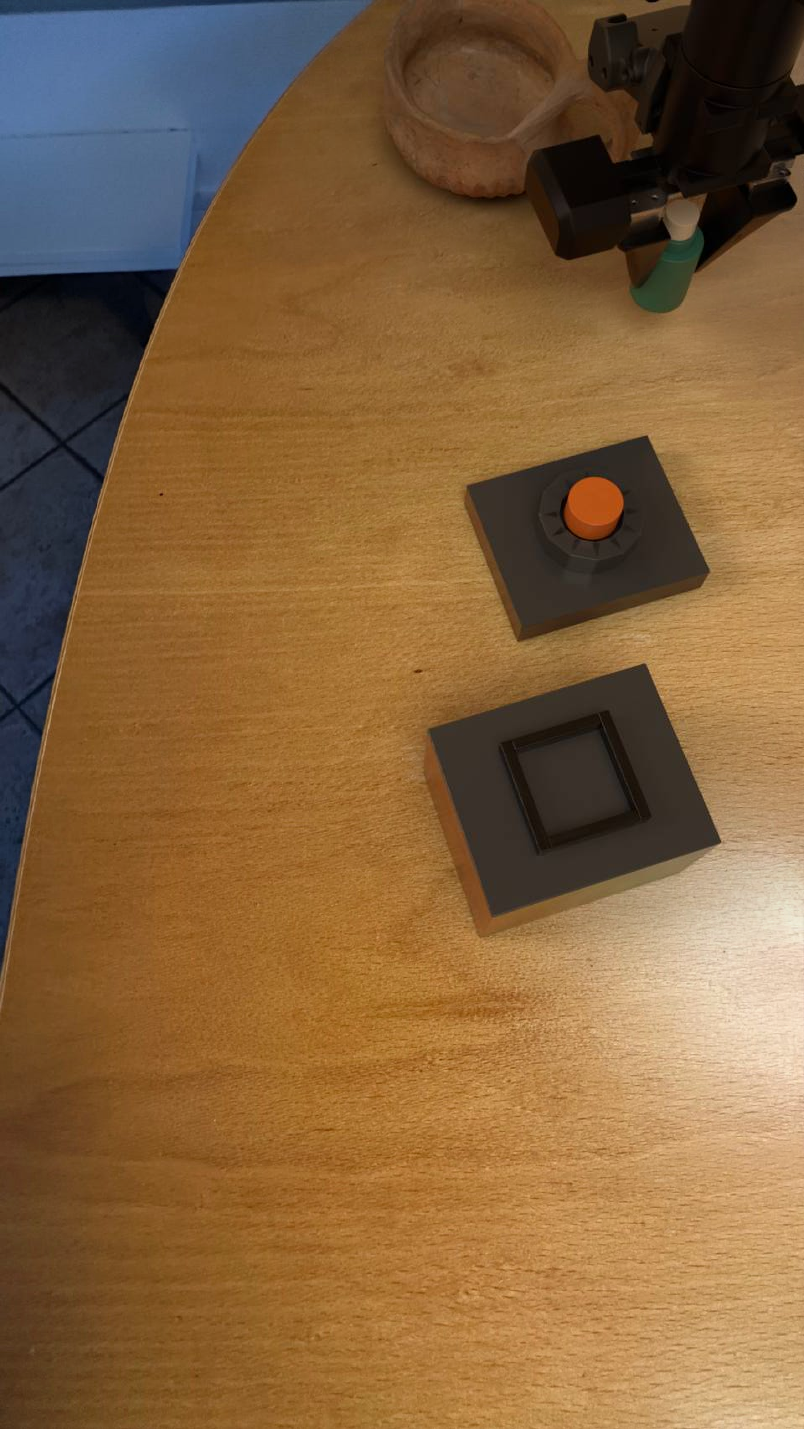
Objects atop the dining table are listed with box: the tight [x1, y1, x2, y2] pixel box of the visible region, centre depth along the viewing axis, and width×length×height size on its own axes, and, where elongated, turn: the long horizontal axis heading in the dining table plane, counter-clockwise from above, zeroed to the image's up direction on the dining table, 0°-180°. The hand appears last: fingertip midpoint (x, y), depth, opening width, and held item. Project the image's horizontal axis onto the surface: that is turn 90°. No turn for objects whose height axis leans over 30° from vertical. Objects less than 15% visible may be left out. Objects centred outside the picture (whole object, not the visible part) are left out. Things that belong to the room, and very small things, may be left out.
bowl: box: [381, 0, 641, 199], centre depth 72 cm, size 18×14×10 cm
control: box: [464, 434, 711, 643], centre depth 64 cm, size 12×10×4 cm
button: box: [564, 477, 624, 540], centre depth 62 cm, size 3×3×2 cm
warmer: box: [423, 662, 722, 939], centre depth 56 cm, size 12×10×9 cm
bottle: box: [629, 198, 704, 314], centre depth 65 cm, size 4×4×6 cm
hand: (663, 275), depth 67 cm, fingers closed on bottle, 3 cm apart
